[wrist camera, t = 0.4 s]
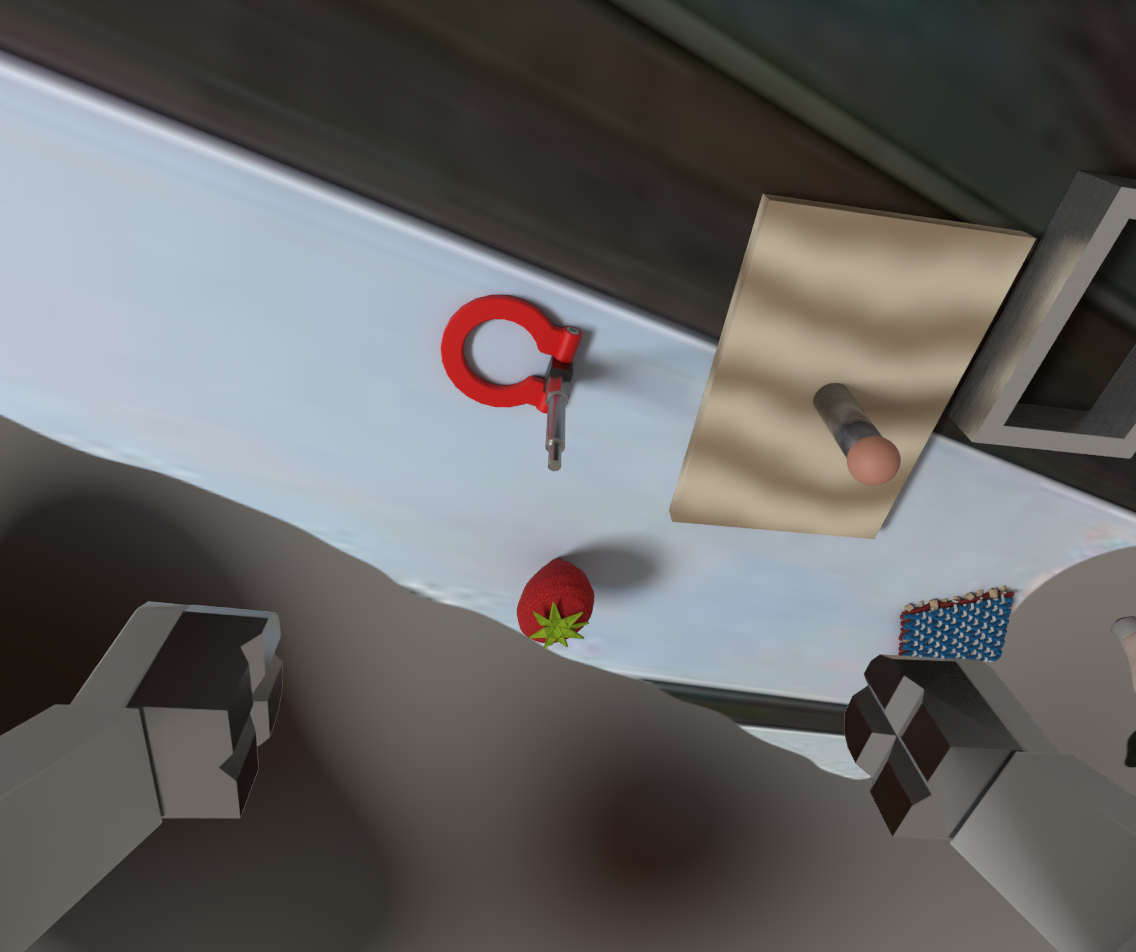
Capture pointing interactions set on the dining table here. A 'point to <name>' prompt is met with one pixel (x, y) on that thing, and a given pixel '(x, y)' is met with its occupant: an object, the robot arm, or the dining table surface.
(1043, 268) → the steel link
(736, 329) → the board
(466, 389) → the tow hook
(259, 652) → the robot arm
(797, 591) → the dining table surface
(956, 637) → the woven mat
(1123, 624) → the light bulb
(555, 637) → the strawberry
